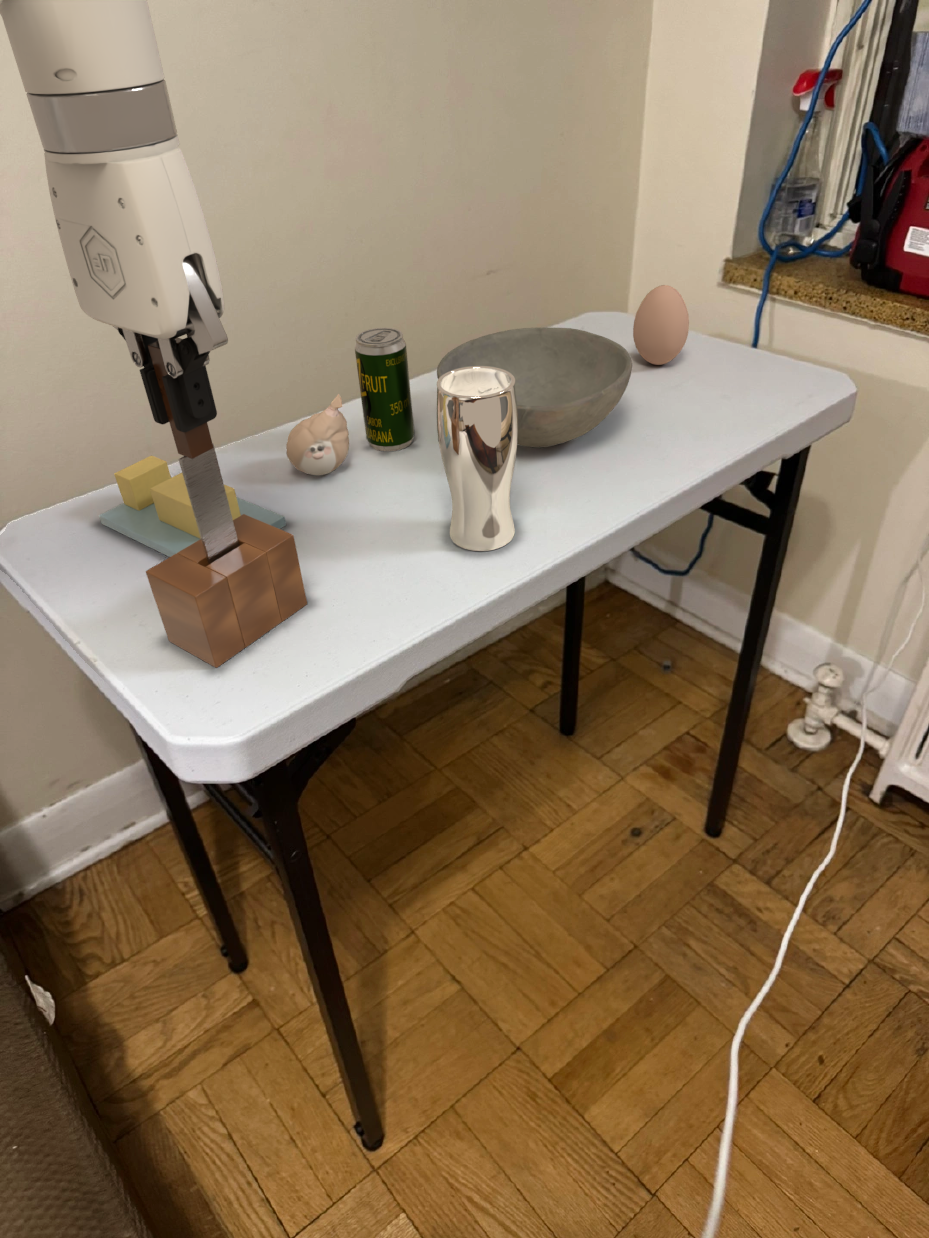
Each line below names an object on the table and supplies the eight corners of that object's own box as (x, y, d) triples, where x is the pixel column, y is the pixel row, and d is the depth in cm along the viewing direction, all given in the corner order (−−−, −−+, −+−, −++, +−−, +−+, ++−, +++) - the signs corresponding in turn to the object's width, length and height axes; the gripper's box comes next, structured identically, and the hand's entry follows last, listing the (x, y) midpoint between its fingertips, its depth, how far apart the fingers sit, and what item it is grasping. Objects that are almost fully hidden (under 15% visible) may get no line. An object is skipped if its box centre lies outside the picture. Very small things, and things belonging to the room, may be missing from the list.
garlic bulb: (340, 486, 89) (329, 414, 85) (282, 483, 91) (268, 412, 86) (359, 457, 95) (350, 387, 90) (304, 454, 96) (292, 385, 91)
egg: (683, 375, 108) (692, 295, 102) (628, 372, 109) (634, 294, 103) (685, 354, 113) (694, 277, 107) (633, 352, 114) (638, 276, 108)
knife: (215, 566, 67) (155, 352, 56) (202, 560, 68) (140, 347, 57) (245, 548, 69) (192, 337, 58) (231, 542, 69) (177, 333, 59)
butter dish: (205, 574, 78) (203, 565, 77) (101, 524, 86) (98, 515, 85) (286, 525, 84) (284, 516, 83) (182, 482, 92) (179, 473, 91)
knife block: (216, 668, 68) (194, 596, 63) (168, 641, 71) (144, 571, 66) (307, 604, 74) (293, 534, 69) (259, 581, 77) (243, 513, 72)
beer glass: (431, 544, 80) (418, 390, 71) (466, 508, 85) (458, 360, 76) (499, 561, 77) (494, 404, 68) (531, 523, 82) (531, 371, 73)
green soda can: (383, 427, 100) (371, 324, 93) (423, 435, 98) (414, 330, 91) (358, 447, 96) (343, 342, 89) (399, 456, 94) (387, 348, 87)
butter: (205, 541, 80) (196, 509, 78) (159, 520, 84) (149, 488, 82) (242, 520, 83) (234, 488, 81) (195, 500, 87) (187, 469, 85)
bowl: (667, 444, 93) (674, 373, 88) (495, 493, 87) (492, 419, 82) (566, 378, 109) (568, 314, 104) (413, 415, 102) (407, 349, 97)
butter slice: (139, 511, 86) (128, 480, 83) (123, 504, 87) (113, 473, 85) (175, 492, 88) (166, 461, 86) (160, 485, 90) (151, 455, 87)
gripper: (-26, 127, 51) (76, 416, 63) (135, 144, 43) (218, 471, 55) (84, 107, 56) (161, 379, 67) (248, 120, 48) (303, 426, 59)
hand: (186, 419), depth 61 cm, fingers closed on knife, 1 cm apart
